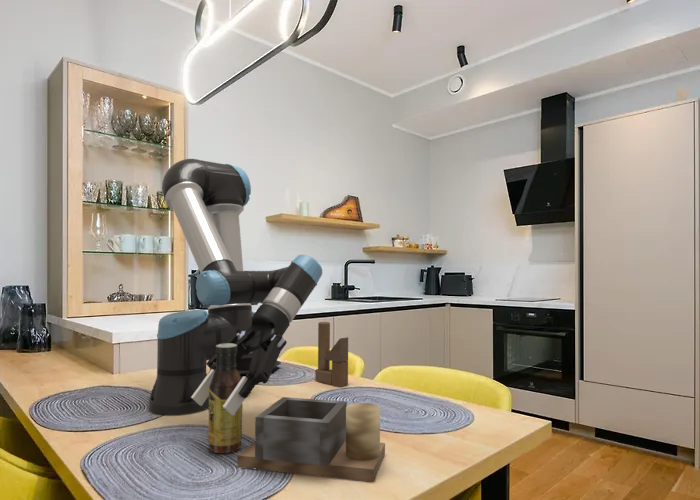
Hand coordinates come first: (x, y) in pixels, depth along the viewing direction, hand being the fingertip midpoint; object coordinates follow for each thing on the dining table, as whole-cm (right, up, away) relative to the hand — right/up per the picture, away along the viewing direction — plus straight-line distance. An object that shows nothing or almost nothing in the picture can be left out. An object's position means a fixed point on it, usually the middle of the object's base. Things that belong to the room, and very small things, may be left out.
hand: (211, 406), depth 88 cm
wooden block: (+20, -11, +54) cm, 59 cm away
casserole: (-8, -12, +69) cm, 71 cm away
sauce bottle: (+2, -9, +2) cm, 10 cm away
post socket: (+19, -9, -3) cm, 21 cm away
